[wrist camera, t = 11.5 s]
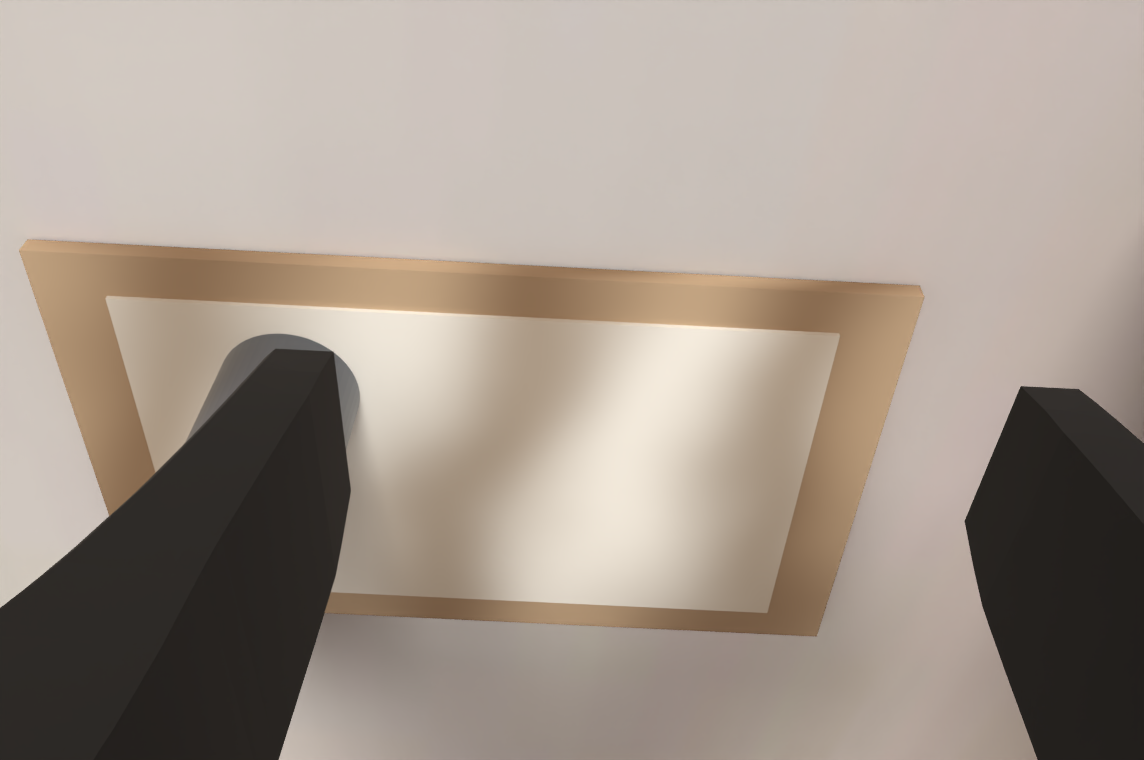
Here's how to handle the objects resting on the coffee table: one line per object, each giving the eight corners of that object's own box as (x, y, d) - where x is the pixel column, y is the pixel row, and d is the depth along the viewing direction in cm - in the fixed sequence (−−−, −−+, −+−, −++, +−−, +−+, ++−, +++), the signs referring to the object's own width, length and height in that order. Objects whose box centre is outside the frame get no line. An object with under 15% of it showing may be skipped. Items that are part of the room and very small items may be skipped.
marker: (353, 333, 22) (251, 650, 15) (369, 445, 23) (284, 768, 17) (204, 329, 22) (40, 645, 15) (232, 441, 23) (97, 762, 17)
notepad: (920, 285, 21) (925, 299, 21) (813, 623, 28) (817, 639, 28) (27, 239, 21) (17, 252, 20) (144, 592, 28) (138, 607, 27)
